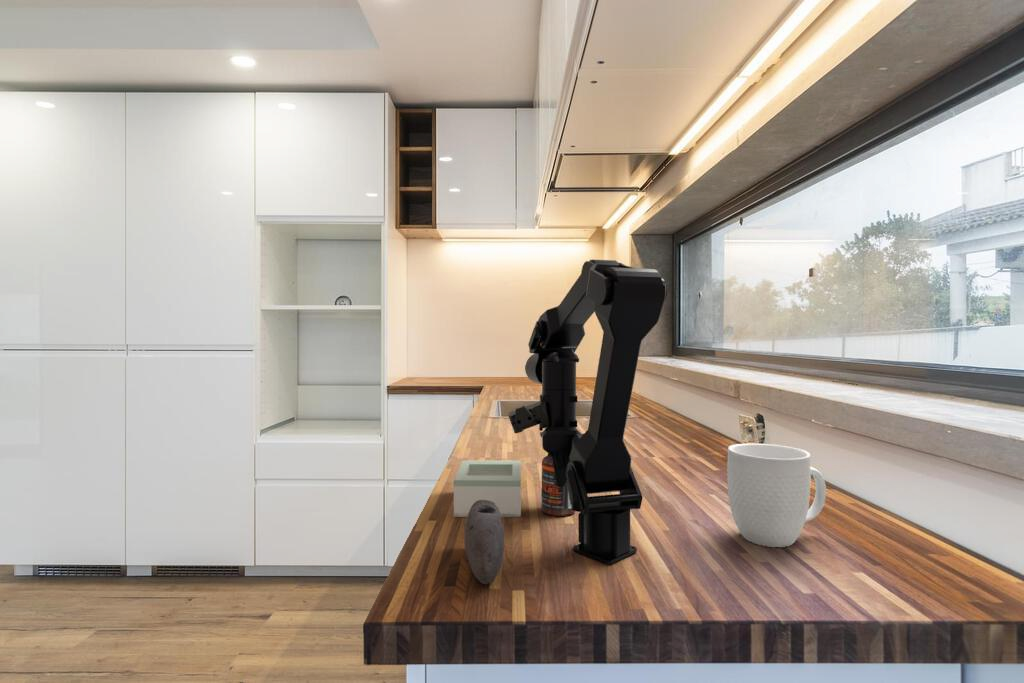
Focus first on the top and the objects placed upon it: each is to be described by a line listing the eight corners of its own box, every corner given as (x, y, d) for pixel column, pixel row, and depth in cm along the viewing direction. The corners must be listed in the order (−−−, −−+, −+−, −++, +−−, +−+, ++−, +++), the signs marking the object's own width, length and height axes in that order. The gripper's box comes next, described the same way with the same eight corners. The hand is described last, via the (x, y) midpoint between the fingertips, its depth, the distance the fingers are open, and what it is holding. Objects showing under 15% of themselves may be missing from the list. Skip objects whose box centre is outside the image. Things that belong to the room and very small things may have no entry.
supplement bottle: (535, 513, 91) (535, 446, 91) (549, 504, 96) (549, 440, 96) (568, 519, 88) (568, 449, 88) (581, 509, 93) (581, 443, 93)
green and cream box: (520, 492, 103) (520, 460, 103) (520, 517, 89) (520, 480, 89) (462, 491, 103) (462, 460, 103) (453, 516, 89) (453, 480, 89)
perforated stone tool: (506, 596, 63) (506, 536, 63) (460, 597, 62) (460, 536, 62) (503, 545, 78) (503, 496, 78) (466, 546, 77) (466, 497, 77)
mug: (796, 522, 87) (797, 440, 87) (852, 548, 76) (853, 455, 76) (712, 528, 84) (712, 444, 84) (758, 557, 73) (759, 460, 73)
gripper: (512, 383, 101) (512, 467, 101) (510, 394, 83) (510, 497, 83) (572, 383, 101) (572, 467, 101) (583, 394, 82) (583, 497, 83)
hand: (558, 480), depth 92 cm, fingers open, 7 cm apart
